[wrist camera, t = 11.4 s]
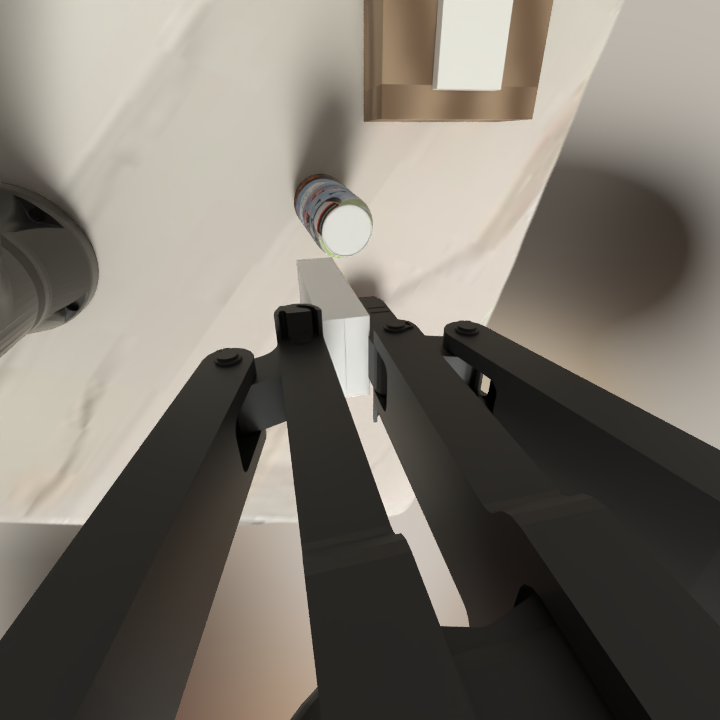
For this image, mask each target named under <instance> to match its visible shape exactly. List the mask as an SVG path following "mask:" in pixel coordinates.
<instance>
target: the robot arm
mask: <svg viewBox="0 0 720 720" xmlns="http://www.w3.org/2000/svg"><path fill="white" fill-rule="evenodd" d="M297 270H298V281H299V292H300V303H301V304H292V305H286V306H279V308H278V309H277V310H276V311H275V312H274V320H275V328H276V335H277V343H278V344H277V347H276V348H275V349H274V350H273V351H272V352H270V353H268V354H267V355H264V356H261V357H258V358H255V359H254V355H253V354H252V352H251V351H249V350H246V349H241V348H225V349H223V350H222V349H221V350H217V351H216V352H214V353H212V354H210V355H208V356H207V357H206V358H205V359H203V361H202V362H201V363H200V365H199V366H198V368H197V369H196V370H195V372H194V373H193V374H192V376H191V377H190V379H189V380H188V381H187V383H186V384H185V386H184V387H183V388H182V390H181V391H180V392H179V394H178V395H177V397H176V398H175V399H174V401H173V402H172V404H171V405H170V406H169V408H168V409H167V410H166V412H165V413H164V415H163V416H162V417H161V419H160V420H159V422H158V423H157V424H156V426H155V427H154V428H153V430H152V431H151V433H150V434H149V435H148V437H147V438H146V440H145V441H144V442H143V444H142V445H141V446H140V448H139V449H138V451H137V452H136V453H135V455H134V456H133V458H132V459H131V460H130V462H129V463H128V464H127V466H126V467H125V469H124V470H123V471H122V473H121V474H120V475H119V477H118V478H117V480H116V481H115V482H114V484H113V485H112V487H111V488H110V489H109V491H108V492H107V493H106V495H105V496H104V498H103V499H102V500H101V502H100V503H99V505H98V506H97V507H96V509H95V510H94V511H93V513H92V514H91V516H90V517H89V518H88V520H87V521H86V523H85V524H84V525H83V527H82V528H81V529H80V531H79V532H78V534H77V535H76V536H75V538H74V539H73V541H72V542H71V543H70V545H69V546H68V548H67V549H66V550H65V552H64V553H63V554H62V556H61V557H60V559H59V560H58V561H57V563H56V564H55V565H54V567H53V568H52V570H51V571H50V572H49V574H48V575H47V576H46V578H45V579H44V581H43V582H42V583H41V585H40V586H39V588H38V589H37V590H36V592H35V593H34V595H33V596H32V597H31V599H30V600H29V601H28V603H27V604H26V606H25V607H24V608H23V610H22V611H21V613H20V614H19V615H18V617H17V618H16V619H15V621H14V622H13V624H12V625H11V626H10V628H9V629H8V630H7V632H6V633H5V635H4V636H3V637H2V639H1V640H0V720H175V717H176V714H177V711H178V708H179V704H180V701H181V698H182V695H183V692H184V689H185V686H186V683H187V680H188V677H189V674H190V671H191V668H192V664H193V661H194V658H195V655H196V652H197V649H198V646H199V643H200V640H201V636H202V634H203V631H204V628H205V624H206V621H207V618H208V615H209V612H210V609H211V606H212V603H213V600H214V597H215V593H216V590H217V587H218V584H219V581H220V578H221V575H222V572H223V569H224V565H225V563H226V560H227V557H228V553H229V550H230V547H231V544H232V541H233V538H234V535H235V532H236V529H237V526H238V523H239V520H240V517H241V513H242V510H243V507H244V504H245V501H246V498H247V495H248V492H249V489H250V486H251V483H252V480H253V477H254V473H255V470H256V467H257V464H258V461H259V458H260V455H261V452H262V449H263V446H264V443H265V440H266V428H269V427H272V426H274V425H277V424H280V423H282V422H285V421H287V428H288V436H289V444H290V453H291V461H292V470H293V478H294V487H295V495H296V504H297V512H298V520H299V529H300V537H301V546H302V555H303V565H304V574H305V583H306V591H307V600H308V609H309V617H310V625H311V634H312V643H313V651H314V659H315V668H316V677H317V685H318V687H317V688H316V689H315V690H314V692H313V693H312V694H311V695H310V696H309V697H308V698H307V699H306V700H305V701H304V702H303V703H302V704H301V706H300V707H299V709H298V710H297V711H296V713H295V714H294V715H293V717H292V718H291V720H720V450H718V449H717V448H715V447H713V446H711V445H709V444H707V443H705V442H703V441H701V440H699V439H698V438H696V437H694V436H692V435H690V434H688V433H686V432H684V431H682V430H681V429H679V428H677V427H675V426H673V425H671V424H669V423H667V422H665V421H663V420H662V419H659V418H658V417H656V416H654V415H652V414H650V413H648V412H646V411H644V410H643V409H641V408H639V407H637V406H635V405H633V404H631V403H629V402H627V401H625V400H624V399H622V398H620V397H618V396H616V395H614V394H612V393H610V392H608V391H606V390H605V389H603V388H601V387H599V386H597V385H595V384H593V383H591V382H589V381H588V380H586V379H584V378H581V377H580V376H578V375H576V374H574V373H572V372H570V371H569V370H567V369H565V368H563V367H561V366H559V365H557V364H555V363H553V362H551V361H549V360H548V359H546V358H544V357H542V356H540V355H538V354H536V353H534V352H532V351H530V350H529V349H527V348H525V347H523V346H521V345H519V344H517V343H515V342H513V341H511V340H510V339H508V338H506V337H504V336H502V335H500V334H498V333H496V332H494V331H492V330H491V329H489V328H487V327H485V326H483V325H480V324H478V323H473V322H471V321H458V322H452V323H450V324H447V325H446V326H445V327H444V334H443V336H425V335H424V334H423V333H422V332H421V331H420V329H419V328H418V327H417V326H416V325H415V324H413V323H412V322H409V321H406V320H399V319H397V318H396V317H395V315H394V314H393V313H392V312H391V310H390V309H389V308H388V307H387V305H386V304H385V303H384V301H382V300H380V299H378V298H376V297H363V298H358V297H357V295H356V294H355V292H354V291H353V289H352V288H351V286H350V285H349V283H348V282H347V280H346V279H345V277H344V276H343V274H342V273H341V271H340V269H339V268H338V266H337V265H336V263H335V262H334V260H333V259H332V257H331V258H317V259H304V260H297ZM97 284H98V264H97V259H96V256H95V253H94V251H93V248H92V246H91V244H90V242H89V240H88V239H87V237H86V235H85V234H84V233H83V231H82V230H81V229H80V227H79V226H78V225H77V224H76V223H75V222H74V221H73V219H72V218H70V217H69V216H68V215H67V214H66V213H65V212H64V211H63V210H61V209H60V208H59V207H57V206H56V205H55V204H53V203H52V202H50V201H48V200H47V199H45V198H43V197H42V196H40V195H38V194H36V193H33V192H31V191H29V190H26V189H24V188H21V187H18V186H14V185H10V184H5V183H0V357H1V356H2V355H4V354H5V353H6V352H7V351H8V350H9V349H10V348H11V347H13V346H14V345H15V344H16V343H17V342H18V341H19V340H20V339H22V338H23V337H24V336H25V335H26V334H31V333H36V332H41V331H45V330H50V329H53V328H56V327H59V326H61V325H63V324H65V323H67V322H69V321H70V320H72V319H73V318H74V317H76V316H77V315H78V314H79V313H80V312H81V311H82V310H83V309H84V308H85V307H86V306H87V305H88V304H89V302H90V301H91V299H92V298H93V296H94V294H95V291H96V289H97ZM483 374H484V375H485V376H487V377H488V378H489V379H491V381H490V387H489V392H488V394H486V393H484V392H483V391H481V383H482V378H483ZM370 381H371V383H372V385H373V420H374V422H377V417H378V415H380V417H381V420H382V422H383V424H384V426H385V429H386V431H387V433H388V435H389V438H390V440H391V442H392V444H393V446H394V449H395V451H396V453H397V455H398V458H399V460H400V462H401V464H402V467H403V469H404V471H405V473H406V475H407V478H408V480H409V482H410V484H411V487H412V489H413V491H414V493H415V496H416V498H417V500H418V502H419V504H420V507H421V509H422V511H423V513H424V515H425V518H426V520H427V522H428V525H429V527H430V529H431V531H432V533H433V536H434V538H435V540H436V542H437V545H438V547H439V549H440V551H441V553H442V556H443V558H444V560H445V562H446V565H447V567H448V569H449V571H450V574H451V576H452V578H453V580H454V583H455V585H456V587H457V589H458V591H459V594H460V595H461V598H462V600H463V603H464V605H465V608H466V611H467V615H468V620H469V626H470V627H447V626H440V624H439V622H438V619H437V617H436V614H435V611H434V609H433V606H432V604H431V601H430V598H429V596H428V593H427V590H426V588H425V585H424V583H423V580H422V577H421V575H420V572H419V570H418V567H417V564H416V562H415V559H414V556H413V554H412V551H411V549H410V547H409V545H408V543H407V540H406V539H405V537H404V536H403V535H402V534H401V533H400V534H395V533H394V532H393V530H392V527H391V525H390V523H389V520H388V517H387V514H386V511H385V508H384V505H383V503H382V500H381V497H380V494H379V491H378V489H377V486H376V483H375V480H374V477H373V475H372V472H371V469H370V466H369V463H368V460H367V458H366V455H365V452H364V449H363V446H362V444H361V441H360V438H359V435H358V432H357V430H356V427H355V424H354V421H353V418H352V416H351V413H350V410H349V407H348V404H347V401H346V399H345V398H348V397H355V396H362V395H369V394H370Z"/></svg>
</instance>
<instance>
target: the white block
mask: <svg viewBox="0 0 720 720" xmlns="http://www.w3.org/2000/svg"><path fill="white" fill-rule="evenodd" d="M512 6H513V0H438V11H437V26H436V40H435V55H434V69H433V84H432V90H463V91H497V90H501V85H502V78H503V71H504V63H505V56H506V49H507V42H508V35H509V28H510V21H511V13H512Z"/></svg>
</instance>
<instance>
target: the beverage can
mask: <svg viewBox="0 0 720 720" xmlns="http://www.w3.org/2000/svg"><path fill="white" fill-rule="evenodd" d="M294 207H295V211H296V214H297V216H298V218H299V219H300V220H301V222H302V223H303V225H304V226H305V228H306V229H307V231H308V232H309V233H310V235H311V236H312V238H313V239H314V241H315V242H316V244H317V245H318V246H319V247H320V249H321V250H323V251H324V252H325V253H327V254H328V255H331V256H333V257H349V256H353V255H356V254H358V253H359V252H361V251H362V250H363V249H364V248H365V247H366V245H367V244H368V242H369V240H370V238H371V234H372V227H373V220H372V215H371V212H370V210H369V208H368V207H367V205H366V204H365V203H364V202H363V201H362V200H361V199H360V198H359V197H357V196H356V195H355V194H353V193H352V192H351V191H350V190H348V189H347V188H346V187H345V186H343V185H342V184H341V183H339V182H338V181H337V180H336V179H334V178H333V177H331V176H329V175H325V174H315V175H312V176H309V177H308V178H306V179H305V180H304V181H302V183H301V184H300V185H299V187H298V188H297V190H296V193H295V197H294Z"/></svg>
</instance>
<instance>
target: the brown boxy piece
mask: <svg viewBox="0 0 720 720" xmlns="http://www.w3.org/2000/svg"><path fill="white" fill-rule="evenodd" d="M552 5H553V0H513V6H512V13H511V21H510V28H509V35H508V42H507V49H506V56H505V63H504V71H503V78H502V85H501V90H497V91H463V90H432V84H433V69H434V55H435V40H436V26H437V11H438V0H364V122H501V121H514V120H527V119H532V117H533V112H534V106H535V100H536V95H537V89H538V83H539V78H540V72H541V67H542V61H543V55H544V50H545V44H546V38H547V33H548V27H549V22H550V16H551V10H552Z"/></svg>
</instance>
